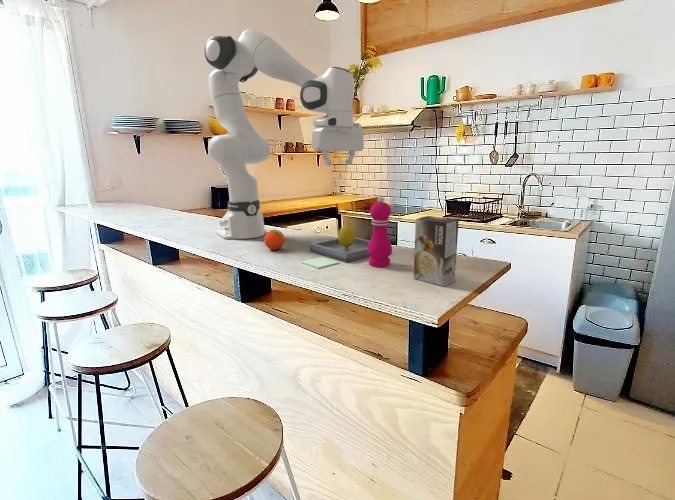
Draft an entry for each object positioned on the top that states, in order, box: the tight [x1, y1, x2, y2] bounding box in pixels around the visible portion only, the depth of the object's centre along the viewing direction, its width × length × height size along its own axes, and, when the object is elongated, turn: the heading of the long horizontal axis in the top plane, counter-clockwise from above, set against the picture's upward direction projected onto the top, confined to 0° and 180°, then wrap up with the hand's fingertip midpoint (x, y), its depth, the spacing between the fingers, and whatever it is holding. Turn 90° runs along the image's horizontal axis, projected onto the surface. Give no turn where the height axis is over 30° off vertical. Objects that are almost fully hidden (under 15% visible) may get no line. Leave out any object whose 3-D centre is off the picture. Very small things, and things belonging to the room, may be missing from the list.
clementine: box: [263, 229, 286, 251], centre depth 128 cm, size 8×7×7 cm
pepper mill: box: [367, 196, 393, 268], centre depth 109 cm, size 7×7×20 cm
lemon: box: [337, 224, 356, 248], centre depth 125 cm, size 6×6×8 cm
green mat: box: [301, 256, 340, 269], centre depth 113 cm, size 8×8×1 cm
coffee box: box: [413, 215, 460, 287], centre depth 96 cm, size 9×6×16 cm
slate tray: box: [309, 236, 371, 263], centre depth 125 cm, size 18×18×3 cm
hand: (338, 165), depth 126 cm, fingers open, 8 cm apart
